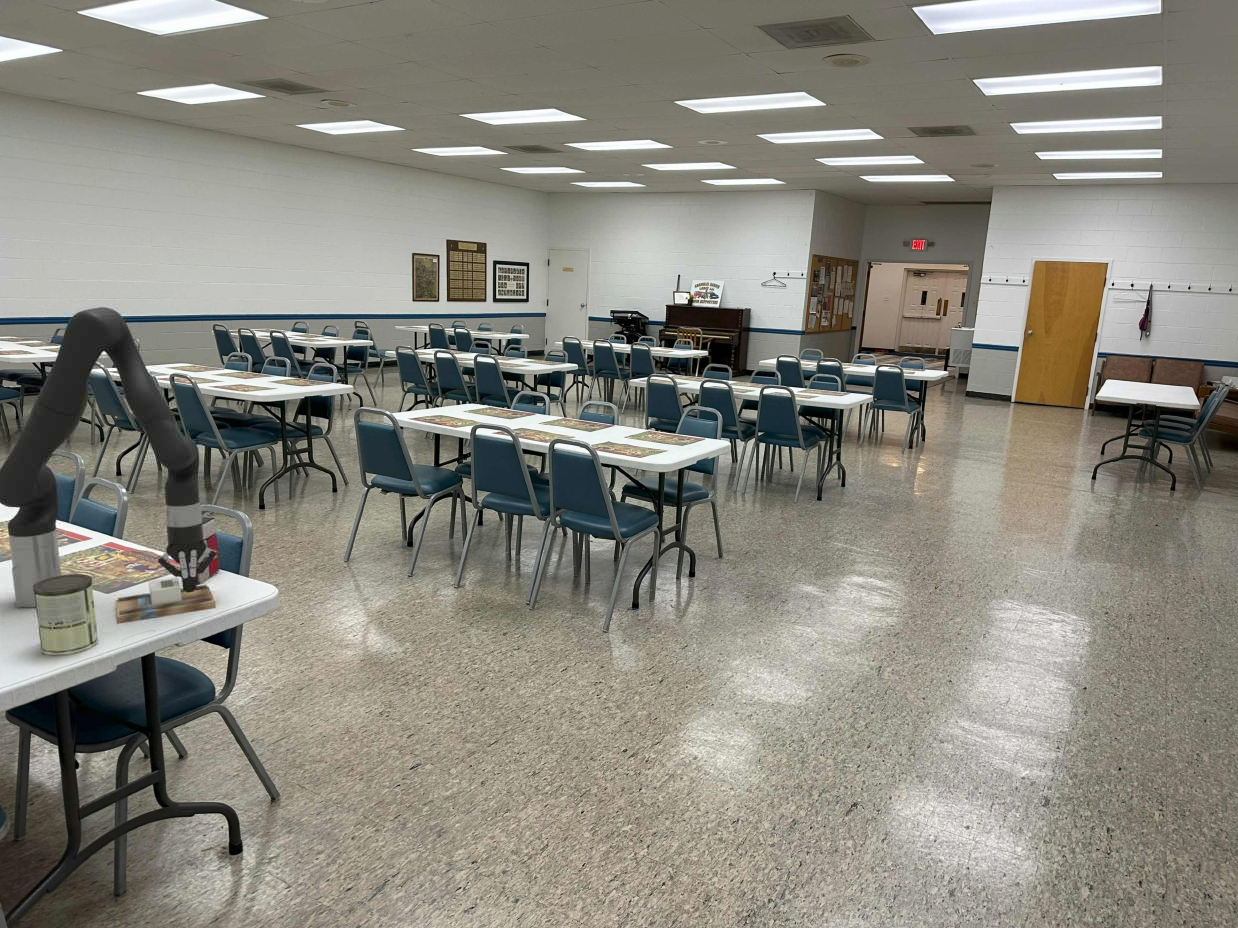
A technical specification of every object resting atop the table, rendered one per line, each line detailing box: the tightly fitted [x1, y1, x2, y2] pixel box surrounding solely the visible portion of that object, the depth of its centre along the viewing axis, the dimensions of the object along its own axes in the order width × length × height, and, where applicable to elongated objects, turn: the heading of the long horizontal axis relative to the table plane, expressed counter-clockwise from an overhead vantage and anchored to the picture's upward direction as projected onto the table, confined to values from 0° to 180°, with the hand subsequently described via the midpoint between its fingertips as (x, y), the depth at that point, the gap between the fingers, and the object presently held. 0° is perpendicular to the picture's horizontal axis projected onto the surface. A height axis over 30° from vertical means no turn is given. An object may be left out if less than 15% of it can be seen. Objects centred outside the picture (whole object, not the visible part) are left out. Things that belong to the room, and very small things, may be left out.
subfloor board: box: [114, 584, 217, 624], centre depth 199 cm, size 20×12×2 cm, turn 122°
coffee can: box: [33, 573, 99, 657], centre depth 175 cm, size 10×10×14 cm
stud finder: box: [148, 576, 182, 606], centre depth 199 cm, size 6×8×4 cm
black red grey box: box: [186, 516, 220, 586], centre depth 218 cm, size 11×4×15 cm, turn 179°
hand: (190, 591), depth 202 cm, fingers closed
